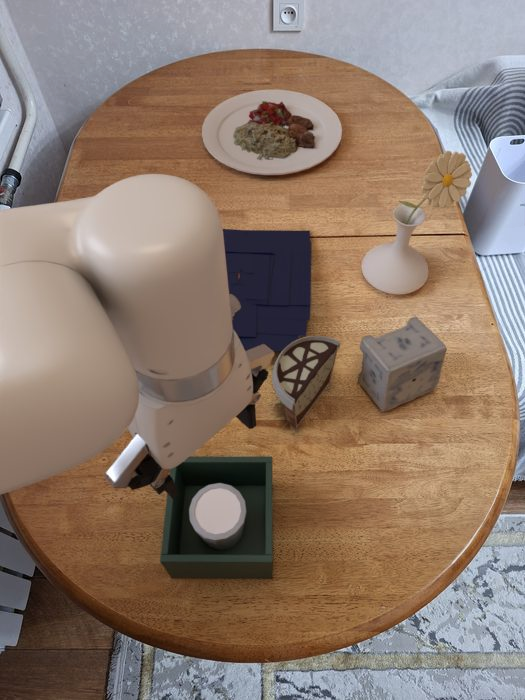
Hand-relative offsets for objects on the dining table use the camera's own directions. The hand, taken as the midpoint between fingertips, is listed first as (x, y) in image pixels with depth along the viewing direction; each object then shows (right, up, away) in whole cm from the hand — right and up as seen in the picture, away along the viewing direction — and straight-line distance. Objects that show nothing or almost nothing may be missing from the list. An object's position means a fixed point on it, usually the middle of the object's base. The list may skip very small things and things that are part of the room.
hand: (205, 450), depth 52 cm
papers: (+1, +19, +43) cm, 47 cm away
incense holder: (+25, +4, +32) cm, 41 cm away
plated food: (+7, +56, +68) cm, 88 cm away
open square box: (0, -14, +20) cm, 24 cm away
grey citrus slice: (+10, +3, +31) cm, 33 cm away
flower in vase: (+29, +22, +44) cm, 58 cm away
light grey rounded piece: (0, -14, +20) cm, 24 cm away
